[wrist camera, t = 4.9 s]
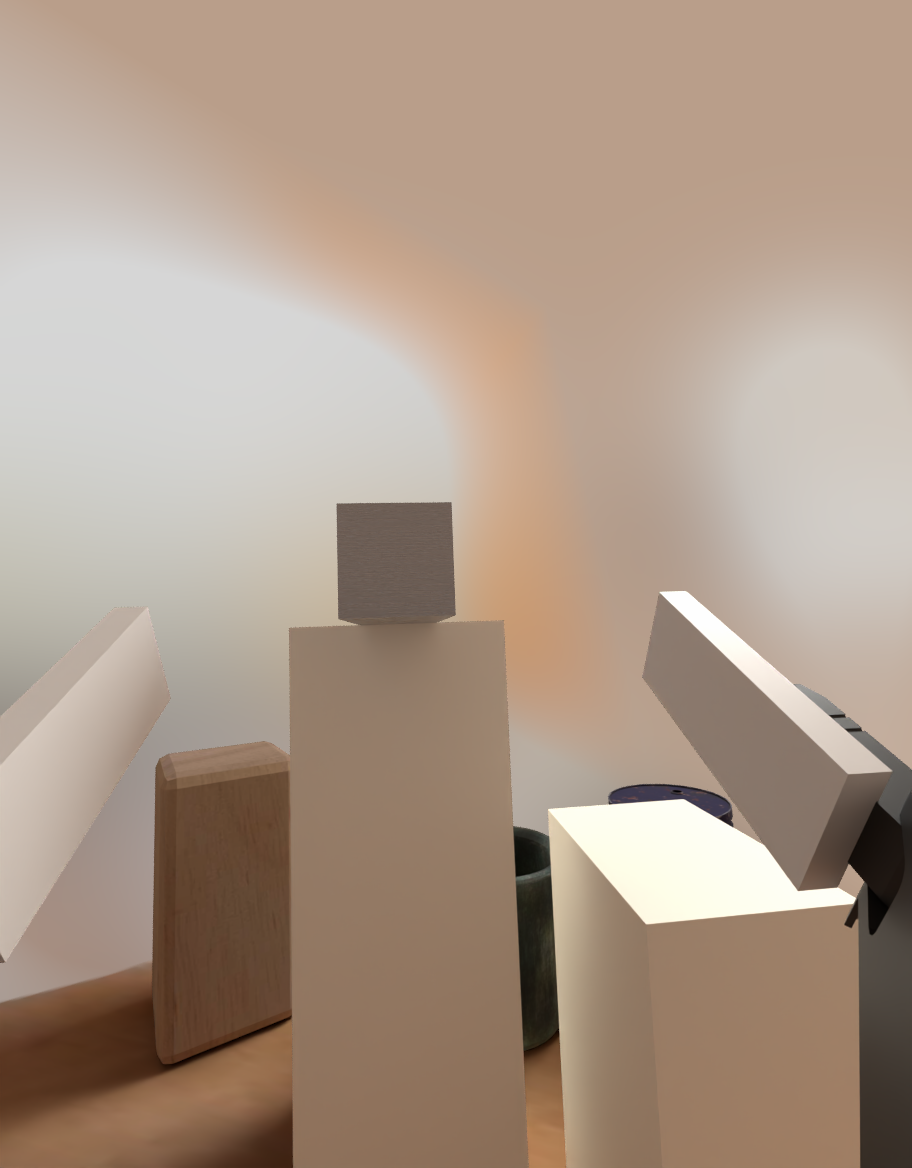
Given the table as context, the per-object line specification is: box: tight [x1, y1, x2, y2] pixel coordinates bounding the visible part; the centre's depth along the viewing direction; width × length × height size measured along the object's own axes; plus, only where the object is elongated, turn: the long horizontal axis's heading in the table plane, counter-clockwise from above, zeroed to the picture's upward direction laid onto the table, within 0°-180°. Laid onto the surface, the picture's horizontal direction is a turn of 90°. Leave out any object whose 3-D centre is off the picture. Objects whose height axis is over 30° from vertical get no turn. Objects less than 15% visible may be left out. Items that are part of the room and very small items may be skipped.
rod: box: [337, 502, 456, 625], centre depth 27 cm, size 4×22×4 cm, turn 6°
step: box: [548, 799, 860, 1168], centre depth 23 cm, size 8×12×20 cm, turn 6°
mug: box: [513, 826, 559, 1051], centre depth 44 cm, size 11×15×12 cm
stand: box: [289, 620, 529, 1168], centre depth 30 cm, size 10×14×30 cm
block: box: [152, 741, 292, 1064], centre depth 44 cm, size 10×10×20 cm
